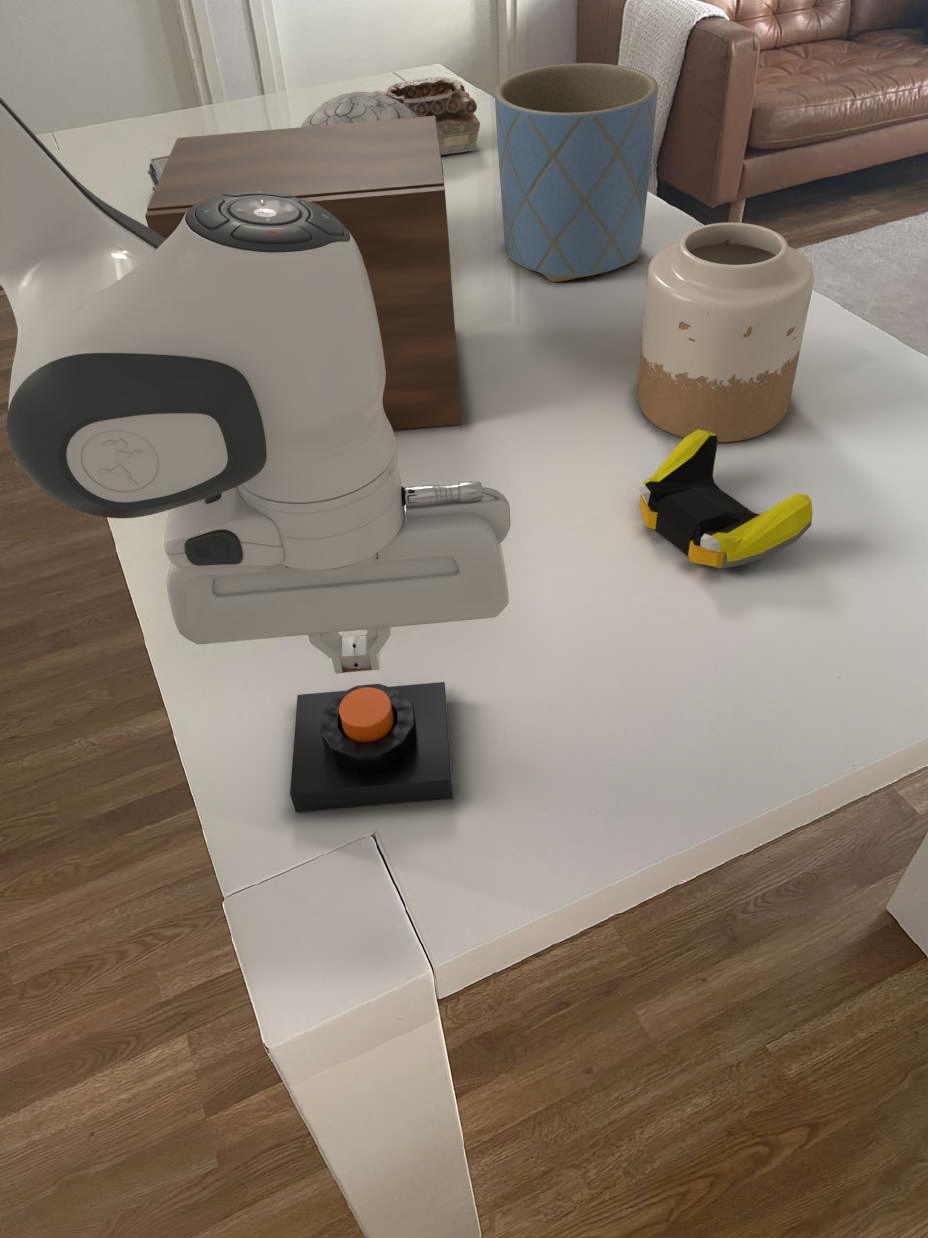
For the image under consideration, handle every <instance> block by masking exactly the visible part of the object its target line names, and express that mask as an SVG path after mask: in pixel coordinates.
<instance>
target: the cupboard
mask: <svg viewBox="0 0 928 1238" xmlns="http://www.w3.org/2000/svg"><path fill="white" fill-rule="evenodd" d="M171 149H172V150H171V152H170V154H169V155H170V156H169V158H168V161H167V163H166V165H165V168H164V170H163V172H162V175H161V177H160V179H159V182H158V184H157V186H156V189H155V191H153V193H152V196H151V198H150V200H149V203H148V205H147V207H146V210H147V211H156V210H168V209H179V208H191V207H192V206H193V205H195V204H196V203H198V202H200V201H203V200H205V199H208V198H212V197H216V196H220V195H222V194H224V193H230V192H238V191H266V192H276V193H282V194H288V195H293V196H295V197H296V198H309V197H320V196H332V195H344V194H356V193H367V192H379V191H391V190H403V189H415V188H426V187H438V186H445V177H444V178H443V175H444V169H443V170H442V166H443V162H442V163H441V161H442V155H440V147H439V140H438V132H437V124H436V117H435V116H426V117H415V118H403V119H391V120H380V121H368V122H357V123H345V124H333V125H322V126H310V127H301V126H299V127H288V128H277V129H276V128H275V129H264V130H253V131H242V132H241V131H240V132H231V133H230V132H229V133H220V134H219V133H217V134H207V135H206V134H205V135H197V136H185V137H177V138H176V140H175V142H174V144H173V147H172V148H171ZM147 211H146V212H147Z"/></svg>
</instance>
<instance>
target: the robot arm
mask: <svg viewBox="0 0 928 1238" xmlns="http://www.w3.org/2000/svg"><path fill="white" fill-rule="evenodd" d="M0 286H1V287H2V289H3V290H4V293H5V295H6V297H7V300H8V303H9V304H10V306H11V310H12V313H13V316H14V318H15V323H16V326H17V337H16V338H17V340H16V347H15V348H16V349H15V354H14V358H13V362H12V366H11V367H12V368H11V376H10V383H9V393H8V409H7V417H6V432H7V438H8V443H9V446H10V449H11V451H12V454H13V456H14V457H15V460H16V462H17V463H18V466H19V467H20V468H21V469H22V471H23V472H24V473H25V475H26V476H27V477H28V478H29V479H30V480H31V482H33V483H34V485H36V486H37V487H38V488H39V489H40V490H41V491H43V492H44V493H45V494H47V495H48V496H50V497H51V498H53V499H54V500H56V501H58V502H60V503H61V504H63V505H65V506H67V507H69V508H71V509H73V510H76V511H78V512H82V513H85V514H88V515H91V516H96V517H101V518H108V519H134V518H136V519H137V518H141V517H142V518H144V517H148V516H152V515H155V514H159V513H163V512H167V511H168V513H167V517H166V522H165V528H164V529H165V530H164V545H163V547H164V551H165V554H166V556H167V559H168V560H169V566H168V567H169V568H168V572H167V577H166V590H167V597H168V601H169V606H170V610H171V614H172V618H173V621H174V624H175V627H176V629H177V631H178V633H179V634H180V636H182V637H184V638H185V639H186V640H188V641H190V642H192V643H194V644H196V645H211V644H221V643H232V642H243V641H253V640H265V639H277V638H287V637H297V636H298V637H299V636H307V637H308V640H309V643H310V644H311V645H312V646H314V648H316V649H318V650H319V651H320V652H321V653H323V654H324V655H325V656H326V657H328V658H330V659H331V661H332V666H333V669H334V673H335V674H337V675H338V674H344V673H345V674H347V673H355V672H370V671H379V670H380V669H381V656H380V655H381V654H380V652H381V651H382V649H383V648H384V645H385V644H386V643H387V641H388V640H389V639H390V637H391V628H397V627H398V628H399V627H408V626H420V625H430V624H440V623H441V624H442V623H450V622H463V621H474V620H485V619H486V620H487V619H494V618H497V617H498V616H499V615H501V613H502V612H503V611H504V610H505V609H506V608H507V607H508V605H510V596H509V595H510V594H509V585H508V578H507V577H508V575H507V570H506V565H505V564H506V563H505V557H504V552H503V548H502V542H503V541H505V540H506V538H507V537H508V534H509V532H510V529H511V507H510V503H509V500H508V499H507V497H506V496H505V495H504V494H503V493H501V492H500V491H499V490H497V489H494V488H491V487H485V486H484V487H483V483H482V482H480V481H461V482H458V483H455V484H446V485H443V484H442V485H439V484H436V485H435V484H427V485H418V486H417V485H415V486H403V485H402V480H401V474H400V465H399V458H398V449H397V442H396V437H395V433H394V432H395V431H394V430H393V429H392V427H391V424H390V422H389V421H388V419H387V417H386V414H385V412H384V408H383V392H384V387H385V379H386V369H385V361H384V354H383V347H382V340H381V335H380V329H379V323H378V318H377V312H376V307H375V303H374V298H373V294H372V289H371V285H370V282H369V278H368V274H367V271H366V268H365V265H364V262H363V259H362V256H361V253H360V251H359V248H358V246H357V244H356V242H355V240H354V238H353V237H352V236H351V234H350V233H349V231H348V230H347V229H346V227H345V226H344V225H343V224H342V223H341V222H340V221H339V220H338V219H337V218H336V217H334V216H333V215H332V214H331V213H329V212H328V211H327V210H325V209H324V208H322V207H321V206H319V205H317V204H315V203H312V202H309V201H306V200H303V199H300V198H296V197H295V196H293V195H288V194H282V193H276V192H266V191H238V192H230V193H224V194H222V195H220V196H216V197H212V198H208V199H205V200H203V201H200V202H198V203H196V204H195V205H193V206H192V207H191V208H190V209H189V210H188V211H187V212H186V213H185V215H184V217H183V219H182V221H181V222H180V224H179V225H178V227H177V228H176V230H175V231H174V232H173V233H172V234H171V235H170V236H169V237H168V238H167V239H165V238H164V237H163V236H161V235H160V234H158V233H157V232H155V231H153V230H152V229H150V228H148V225H147V226H146V225H145V224H144V223H142V222H140V221H138V220H136V219H134V218H133V217H130V216H129V215H127V214H126V213H123V212H121V211H120V210H118V209H117V208H115V207H113V206H111V205H110V204H108V203H107V202H105V201H104V200H103V199H101V198H99V197H98V196H97V195H95V194H94V193H93V192H92V191H90V190H89V189H88V188H87V187H86V186H84V184H82V183H81V182H80V180H78V179H77V178H76V177H75V176H74V175H72V173H71V172H70V171H69V170H68V169H67V168H66V167H65V166H64V165H63V164H62V163H61V162H60V161H59V160H58V158H57V157H56V156H55V155H54V154H53V153H52V152H51V151H50V149H48V147H47V146H46V145H45V144H44V143H43V142H42V141H41V140H40V138H38V136H36V134H35V133H34V132H33V131H32V130H31V129H30V127H29V126H28V125H26V124H25V122H24V121H23V120H22V118H20V117H19V116H18V115H17V113H15V111H14V110H13V109H12V108H11V107H10V106H9V104H7V102H6V101H5V100H4V99H3V98H2V97H1V96H0ZM364 630H365V631H367V632H366V634H364V635H354V636H342V635H341V634H340V632H341V633H342V632H352V631H364Z"/></svg>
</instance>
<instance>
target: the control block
mask: <svg viewBox="0 0 928 1238" xmlns="http://www.w3.org/2000/svg"><path fill="white" fill-rule="evenodd" d="M366 687H370V688H376V689H379V690H381V691H383V692H384V693H386V694H387V695H388V697H389V699H390V701H391V706H392V712H393V718H394V722H393V726H392V728H391V730H390V731H389V733H388V734H387V735H386V736H384V737H383V738H381V739H379V740H377V741H374V742H368V743H363V742H357V741H354V740H352V739H351V738H349V737H348V736H347V735H346V734H345V732H344V730H343V726H342V722H341V718H340V713H339V707H340V704H341V701H342V700H343V699H344V697H345V696H346V695H347V694H349V693H350V692H352V691H354V690H357V689H360V688H366ZM296 697H297V698H296V708H295V709H296V711H295V721H294V722H295V724H294V725H295V726H294V735H293V749H292V759H291V760H292V761H291V775H290V788H289V796H290V799H291V803H292V806H293V809H294V811H295V813H304V812H314V811H326V810H338V809H350V808H361V807H362V808H363V807H371V806H383V805H393V804H394V805H395V804H405V803H417V802H429V801H440V800H450V799H454V789H453V788H454V786H453V774H452V771H453V770H452V756H451V744H450V729H449V715H448V702H447V701H448V699H447V689H446V682H445V681H438V682H428V683H414V684H403V685H394V686H387V685H385V684H382V683H371V684H360V685H355V686H352V687H351V688H348V689H346V690H337V691H325V692H324V691H323V692H314V693H313V692H312V693H302V694H297V696H296Z"/></svg>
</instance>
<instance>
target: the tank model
mask: <svg viewBox="0 0 928 1238" xmlns="http://www.w3.org/2000/svg"><path fill="white" fill-rule="evenodd" d="M372 93H377V94H381V95H384V96H388V97H390V98H392V99H394V100H397V101H398V102H400V103H402V104H403V105H405V106H406V107H408V108H409V109H410V110H411V111H413V112H414V113H415V114H416V115H417V116H418V117H426V116H435V117H436V124H437V132H438V140H439V147H440V155H441V156H443V155H451V154H457V153H465V152H471V151H475V150H476V147H477V141H478V137H479V132H480V128H481V121H480V120H479V119H478V117H477V115H476V114H475V112H477V109H478V104H477V102H476V100H475V99H474V98H472V97H470V93H469V92H467V91H466V89H465V86H464V85H463V83H462V82H461V81H460V80H458V79H454V78H451V77H450V78H449V77H447V76H433V77H427V78H420V79H417V78H416V79H412V80H406V81H401V82H398V83H394V84H392V85H390V86H388V88H387V90H385V91H382V90H376V91H373V92H372Z"/></svg>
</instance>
